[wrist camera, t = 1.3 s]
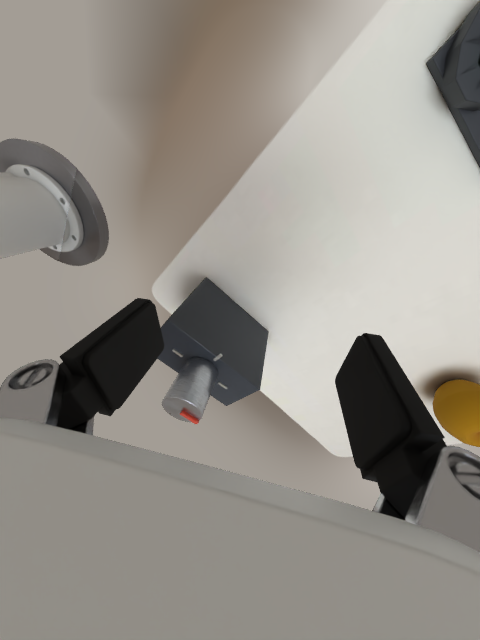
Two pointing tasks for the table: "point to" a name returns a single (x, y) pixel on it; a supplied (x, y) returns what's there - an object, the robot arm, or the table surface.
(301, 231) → the table surface
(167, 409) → the program dial
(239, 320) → the dial panel
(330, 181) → the table surface
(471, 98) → the button block
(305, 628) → the robot arm
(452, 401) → the apple
